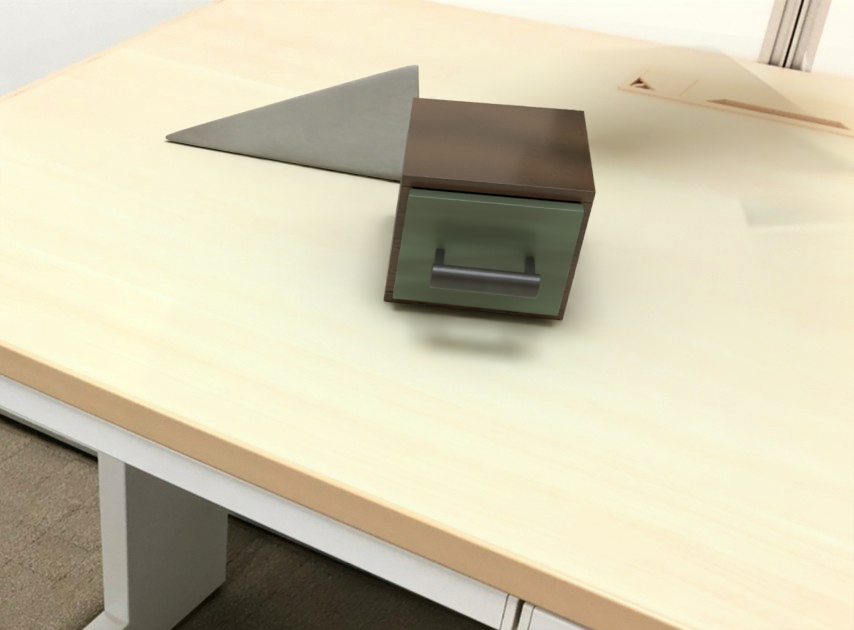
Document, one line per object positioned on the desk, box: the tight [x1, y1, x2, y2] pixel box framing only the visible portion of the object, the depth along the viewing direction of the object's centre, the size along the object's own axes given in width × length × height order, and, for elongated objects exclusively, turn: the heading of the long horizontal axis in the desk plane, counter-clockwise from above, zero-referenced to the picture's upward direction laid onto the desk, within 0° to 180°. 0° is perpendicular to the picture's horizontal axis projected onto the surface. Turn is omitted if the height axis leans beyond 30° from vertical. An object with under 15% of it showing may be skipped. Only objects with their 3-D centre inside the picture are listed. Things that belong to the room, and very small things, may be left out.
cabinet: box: [383, 97, 597, 320], centre depth 92 cm, size 15×13×10 cm
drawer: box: [393, 187, 584, 316], centre depth 89 cm, size 18×11×8 cm, turn 167°
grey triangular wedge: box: [165, 64, 420, 182], centre depth 109 cm, size 10×8×22 cm
